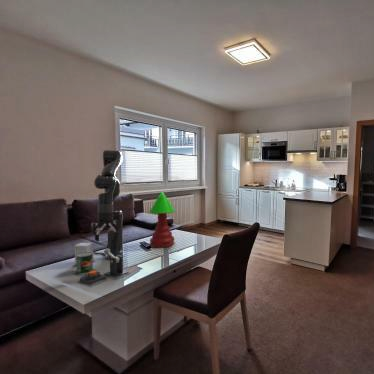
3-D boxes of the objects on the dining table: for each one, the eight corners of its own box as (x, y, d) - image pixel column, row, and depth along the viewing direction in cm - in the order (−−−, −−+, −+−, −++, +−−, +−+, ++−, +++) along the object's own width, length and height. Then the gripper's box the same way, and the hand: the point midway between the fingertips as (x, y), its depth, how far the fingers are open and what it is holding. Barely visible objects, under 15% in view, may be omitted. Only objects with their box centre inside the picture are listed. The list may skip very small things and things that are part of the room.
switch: (102, 252, 139) (103, 248, 138) (107, 251, 142) (108, 246, 141) (114, 264, 135) (115, 259, 134) (119, 262, 138) (121, 258, 137)
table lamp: (144, 245, 193) (144, 191, 191) (165, 239, 210) (165, 190, 207) (158, 249, 182) (158, 192, 180) (179, 243, 198) (179, 191, 196)
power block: (79, 282, 127) (79, 274, 126) (94, 276, 134) (94, 269, 134) (91, 286, 123) (91, 278, 122) (106, 279, 130) (105, 272, 130)
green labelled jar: (93, 261, 156) (93, 242, 155) (87, 265, 149) (86, 245, 148) (81, 261, 156) (81, 242, 155) (74, 265, 149) (74, 245, 148)
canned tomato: (82, 269, 143) (81, 251, 142) (95, 269, 144) (95, 251, 143) (73, 274, 135) (72, 256, 135) (87, 274, 136) (87, 256, 135)
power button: (87, 275, 127) (87, 272, 127) (94, 272, 130) (94, 269, 130) (91, 276, 126) (91, 273, 126) (98, 274, 129) (98, 270, 129)
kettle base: (104, 275, 135) (104, 257, 134) (117, 270, 142) (116, 253, 142) (115, 279, 131) (115, 260, 130) (128, 273, 138) (128, 256, 138)
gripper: (114, 210, 140) (114, 236, 140) (88, 212, 128) (88, 241, 128) (121, 210, 136) (121, 238, 136) (94, 213, 124) (94, 243, 124)
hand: (105, 239), depth 132 cm, fingers open, 8 cm apart
